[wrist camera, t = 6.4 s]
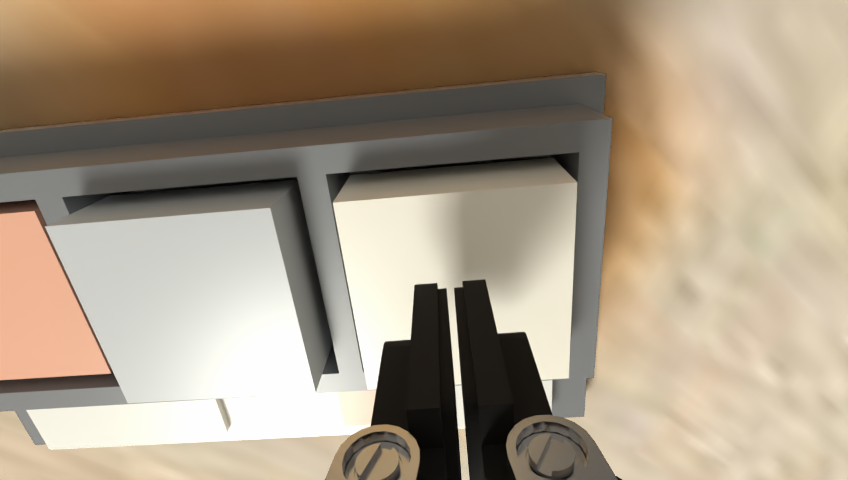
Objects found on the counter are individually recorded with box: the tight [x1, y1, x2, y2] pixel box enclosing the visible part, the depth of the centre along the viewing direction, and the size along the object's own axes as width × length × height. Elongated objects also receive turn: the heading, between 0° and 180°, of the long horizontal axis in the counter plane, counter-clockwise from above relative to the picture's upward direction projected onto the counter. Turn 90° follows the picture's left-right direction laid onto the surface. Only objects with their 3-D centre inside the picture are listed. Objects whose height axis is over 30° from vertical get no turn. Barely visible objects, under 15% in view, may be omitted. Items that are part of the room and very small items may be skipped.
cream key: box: [333, 158, 577, 390], centre depth 13 cm, size 6×6×2 cm
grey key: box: [45, 180, 333, 403], centre depth 14 cm, size 6×6×2 cm
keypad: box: [0, 72, 613, 450], centre depth 17 cm, size 25×14×4 cm, turn 95°
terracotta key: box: [0, 200, 113, 380], centre depth 16 cm, size 6×6×2 cm
